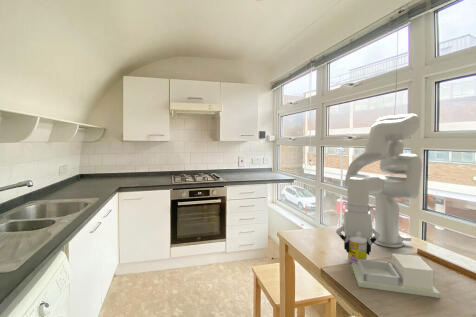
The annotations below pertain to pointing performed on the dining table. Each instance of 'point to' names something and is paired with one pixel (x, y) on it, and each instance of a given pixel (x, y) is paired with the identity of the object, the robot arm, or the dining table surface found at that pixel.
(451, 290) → the dining table surface
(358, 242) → the supplement bottle
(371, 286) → the square frame tray
